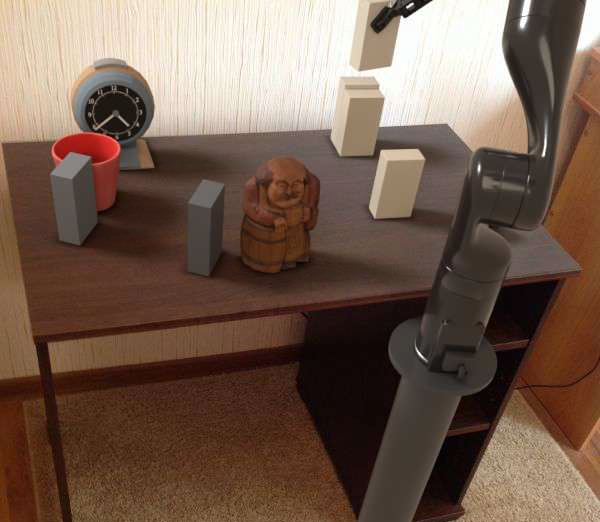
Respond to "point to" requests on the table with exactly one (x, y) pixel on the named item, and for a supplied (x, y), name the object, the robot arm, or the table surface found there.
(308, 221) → the wooden figurine
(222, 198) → the pair of grey blocks
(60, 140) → the flower pot
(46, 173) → the table surface
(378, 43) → the beige block
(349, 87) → the cream books
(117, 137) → the alarm clock
